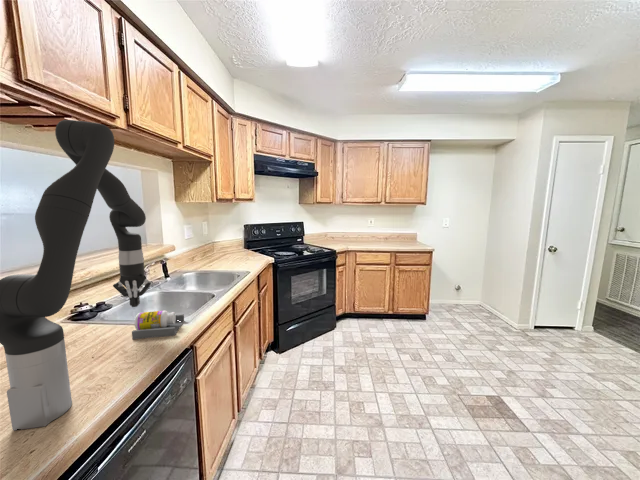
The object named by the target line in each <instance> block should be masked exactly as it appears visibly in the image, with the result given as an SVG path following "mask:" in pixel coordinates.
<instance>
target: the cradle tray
mask: <svg viewBox="0 0 640 480" xmlns="http://www.w3.org/2000/svg"><path fill="white" fill-rule="evenodd" d="M175 315H176V320H175V324H172V325H171V324H168V325H167V326H166V327H165V328H157V329H144V330H136V329H135V330H134V329H133V330H132V331H131V338H132V340H140V339H150V338H161V337H175V335H176V334H177V333H178V331H179V330H180V328H181V326H182V325H183V323H184V322H183V321H185V314H182V313H181V314H175ZM177 320H179V321H181V322H179V321H177Z"/></svg>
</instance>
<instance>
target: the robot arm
mask: <svg viewBox="0 0 640 480" xmlns="http://www.w3.org/2000/svg"><path fill="white" fill-rule="evenodd" d="M54 131H55V132H54V133H55V135H54V136H55V137H56V141H57V143H58V145H59V146H60V148H61V149H62V151H63V152H64V153H65V155H67V156H68V158H69V159H70V160H71V161H72V162H73V163H74V164H75V166H74V167H73V168H71V169H70V170H69V171H67V172H66V173H64V174H63V175H61V176H60V177H59V178H57V179H56V180H55V181H53V182H52V183H51V184H49V186H47V188H45V189H44V191H43V194H42V196H41V198H40V201H39V203H38V206H37V208H36V211H35V214H34V215H35V216H34V222H35V226H36V229H37V232H38V234H39V237H40V239H41V242H42V246H43V247H42V248H43V254H42V258H41V261H40V265H39V268H38V269H37V271H36V274H31V273H30V274H29V273H27V274H26V273H25V274H12V275H8V276H4V277H3V278H0V344H1V346H3V348H4V349H3V350H4V354H5V362H6V369H7V375H8V383H9V387H10V388H8V389H7V391H6V397H7V403H8V410H9V416H10V423H11V429H13V430H14V431H18V430H17V429H21V430H26V429H35V428H42V427H46V426H48V424H49V423H51V422H52V421H54V420H56V419H58V418H60V417H61V416H62V415H64V414H65V413H67V411H68V410H70V408H72V405H73V400H72V392H71V384H70V375H69V369H68V368H69V365H68V357H67V350H66V342H65V341H66V340H65V333H64V329H63V326H62V325H61V324H58V323H56V322H54V321H52V320H49V319H48V318H47V317H51V316H54V315H55V314H57V313H58V312H59V311H61V310H62V308H63V307H64V306H65V305H66V303H67V301H68V298H69V296H70V291H71V287H72V283H73V277H74V271H75V267H76V266H75V265H76V260H77V256H78V252H79V248H80V245H81V241H82V237H83V234H84V231H85V228H86V226H87V223H88V220H89V218H90V214H91V211H92V207H93V203H94V200H95V196H96V194H97V191H98V193H99V194H100V196H101V197H102V198H103V200H104V202H105V204H106V205H107V207H108V208H109V209H111V211H110V212H109V221H110V224H111V227H112V229H113V230H114V233H115V236H116V239H117V245H118V265H119V275H120V277H119V278H118V281H117V282H115V283H114V284H112V287H113V288H114V289H115V290H117V291H118V292H119V294H120V295H121V296H123V297H126V298H128V299H129V305H130V306H131V307H132V308H137V307H138V306H139V305H140V304H141V299H140V297H141V296H143V295H144V294H145V293H146V292H147V291H148V290H149V288H150V287H151V286H152V285H153V282H154V281H153V280H149V279H147V276H146V274H145V263H144V262H145V258H144V252H143V245H142V237H141V235H140V233H135V232H131V231H129V230H128V229H127V228H138V227H142V226H144V224H145V222H146V219H147V216H146V214H145V211H144V210H143V208H142V207H141V206H140V205H139V204H138V203H137V202H135V201H134V200H133V199H132V197H131V196H130V194H129V191H128V190H127V188H126V186H125V185H124V183H123V182H122V181H121V180H120V179H119V177H117V176H115V174H113V173H112V172H111V171H109V170H108V169H107V166H108V164H109V162H110V160H111V158H112V156H113V155H112V154H113V152H114V150H115V149H114V148H115V137H114V134H113V131H112V130H111V128H110V127H109V126H107V125H105V124H102V123H98V122H93V121H92V122H89V121H83V120H76V119H75V120H74V119H73V120H72V119H63V120H62V119H61V120H60V121H59V122H58V123H57V125H56V126H55V129H54ZM142 286H144V287H143V288H141V287H142ZM13 430H12V431H13Z"/></svg>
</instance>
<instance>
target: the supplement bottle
mask: <svg viewBox="0 0 640 480" xmlns="http://www.w3.org/2000/svg"><path fill="white" fill-rule="evenodd" d="M176 315H177V314H176V312H175V311H172V312H169V311H167V310H156V311H155V310H154V311H153V310H152V311H144V312H138V313H137V314H136V316H135V318H134V328H135V330H144V329H157V328H165V327H166V326H167V325H168V324H171V325H172V324H175V320H176Z"/></svg>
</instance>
